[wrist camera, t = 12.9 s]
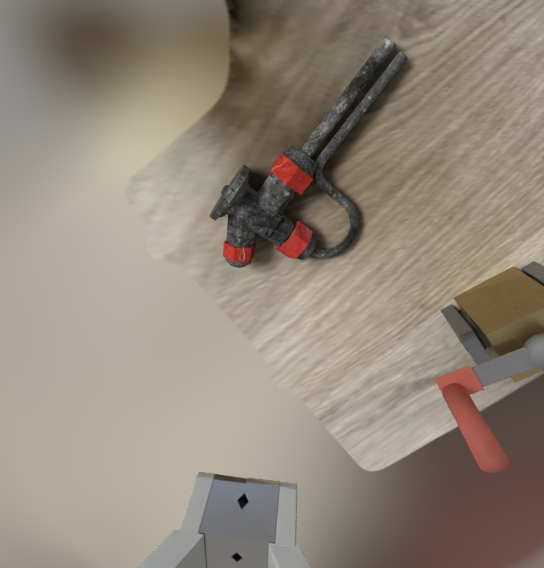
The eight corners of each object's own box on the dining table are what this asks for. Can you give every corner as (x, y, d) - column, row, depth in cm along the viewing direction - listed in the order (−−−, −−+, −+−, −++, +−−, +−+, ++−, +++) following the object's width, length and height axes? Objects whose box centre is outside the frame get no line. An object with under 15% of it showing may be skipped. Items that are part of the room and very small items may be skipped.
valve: (291, 292, 44) (193, 227, 39) (446, 120, 35) (344, 8, 31) (297, 319, 39) (184, 247, 34) (483, 123, 30) (365, -14, 25)
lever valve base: (531, 256, 37) (589, 289, 30) (554, 302, 39) (614, 344, 32) (437, 306, 41) (467, 346, 33) (463, 345, 43) (497, 392, 35)
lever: (553, 327, 31) (645, 400, 23) (563, 351, 32) (655, 431, 24) (432, 376, 35) (472, 455, 26) (444, 396, 36) (486, 479, 27)
